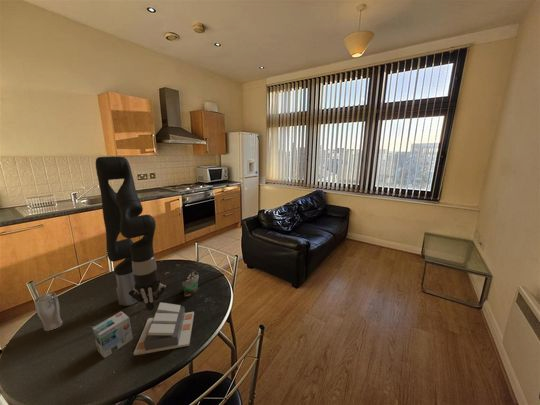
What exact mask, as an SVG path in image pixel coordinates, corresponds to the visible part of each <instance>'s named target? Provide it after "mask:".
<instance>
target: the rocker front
mask: <svg viewBox="0 0 540 405" xmlns="http://www.w3.org/2000/svg"><path fill="white" fill-rule="evenodd" d="M175 325H176V324H151V327H150V329H149V332H148V335H173V333H174V330H175Z"/></svg>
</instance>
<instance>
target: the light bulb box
mask: <svg viewBox="0 0 540 405" xmlns="http://www.w3.org/2000/svg"><path fill="white" fill-rule="evenodd" d="M131 326H132V325H131V321H130V316H128V315H127V314H126V313H124V312H123V311H119V312H118V313H115V314H114V315H113V316H111V317H109V318H106V319H105V320H104V321H102V322H100V323H98V324H96V325H95V326H93V327H92V333H93V336H94V337H93V338H94V341H95V346H96V347H95V348H96V351H98V353H99V355H101V356H102V358H104V359H105V358H108V357H109V356H110V355H111V354H113V353H115V352H116V351H118V350H119V349H120V348H122V347H123V346H125V345H127V344H128V343H130V342H131V341H133V333H132V327H131Z"/></svg>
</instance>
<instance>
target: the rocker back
mask: <svg viewBox="0 0 540 405" xmlns="http://www.w3.org/2000/svg"><path fill="white" fill-rule="evenodd" d="M180 307H182V305H181V304H176V303H175V304H174V303H169V302H168V303H167V302H159V304H158V307H157V312H164V313H173V314H179V310H180Z"/></svg>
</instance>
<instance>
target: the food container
mask: <svg viewBox="0 0 540 405" xmlns="http://www.w3.org/2000/svg"><path fill="white" fill-rule="evenodd" d="M199 277H200V276H199V273H198V272H197V271H196V270H194V269H190V272H189V274H188V275H187V276H186V278H185V279H184V281H182V283H181V284H182V285H181V286H182V287H183V294H184V298H190V297H192V296H195V295H196V294H197V293H198V290H199V284H198V282H199Z"/></svg>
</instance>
